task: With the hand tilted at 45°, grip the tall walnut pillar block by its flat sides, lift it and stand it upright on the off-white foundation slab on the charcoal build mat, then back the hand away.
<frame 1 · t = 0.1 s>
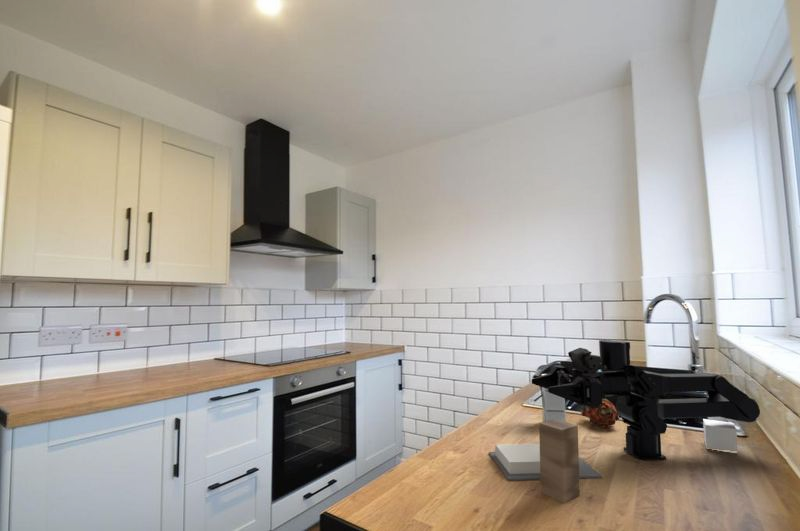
hand: (539, 385, 94), 17 cm above the counter, tool horizontal, fingers open, 9 cm apart
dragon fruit: (600, 425, 117), on the counter
build board: (541, 464, 89), on the counter
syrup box: (553, 426, 116), on the counter
white cube: (720, 449, 99), on the counter
walnut pillar block: (560, 493, 76), on the counter
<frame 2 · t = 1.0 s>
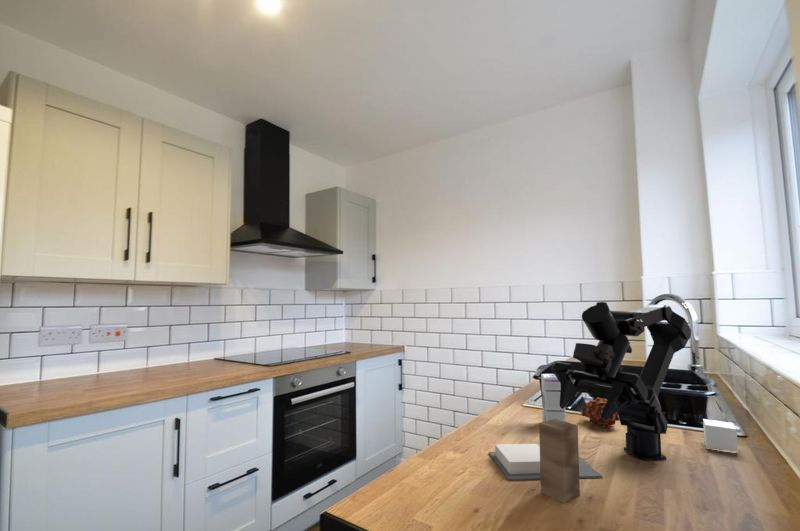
hand: (581, 412, 82), 14 cm above the counter, tool tilted 45°, fingers open, 9 cm apart
nothing on the counter moved.
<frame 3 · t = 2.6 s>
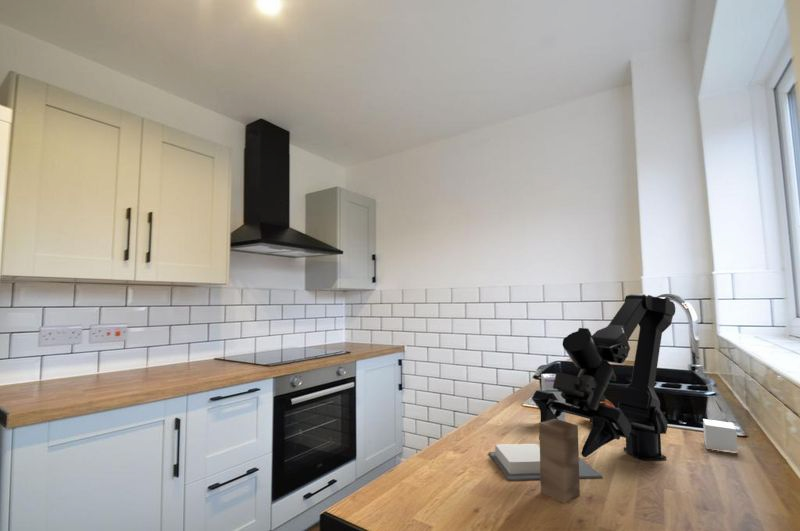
hand: (560, 448, 77), 8 cm above the counter, tool tilted 45°, fingers open, 9 cm apart
nothing on the counter moved.
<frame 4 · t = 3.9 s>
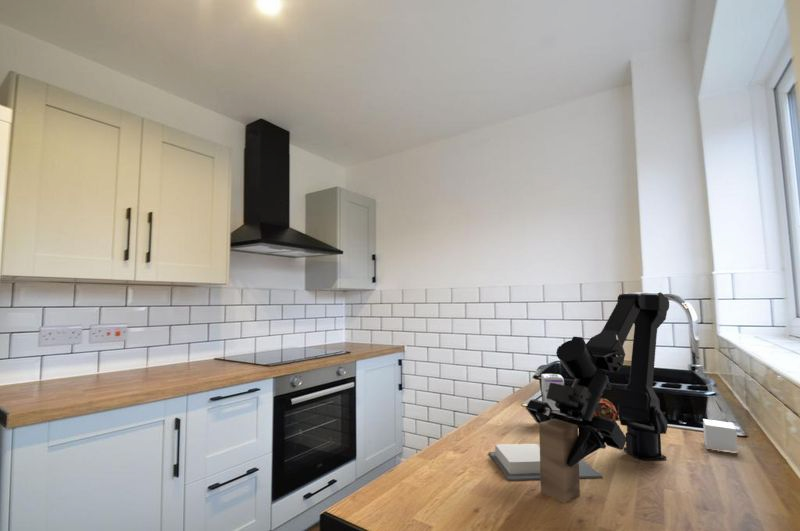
hand: (554, 459, 76), 7 cm above the counter, tool tilted 45°, fingers open, 6 cm apart
walnut pillar block: (560, 493, 76), on the counter, touching gripper
everything else where it was.
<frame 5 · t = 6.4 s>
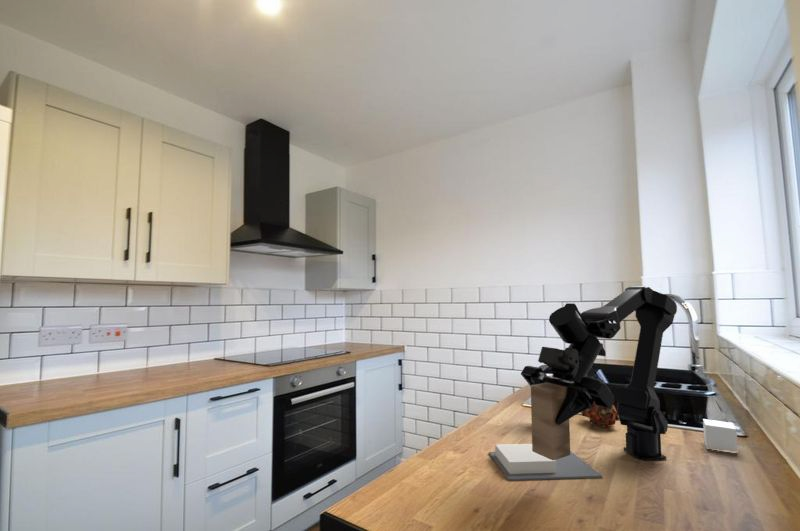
hand: (545, 419, 78), 13 cm above the counter, tool tilted 45°, fingers closed on walnut pillar block, 5 cm apart
walnut pillar block: (551, 453, 78), point 7 cm above the counter, touching gripper
everything else where it was.
when the fingers open (10 cm above the counter, at t = 8.7 s): walnut pillar block stays where it is, resting on build board.
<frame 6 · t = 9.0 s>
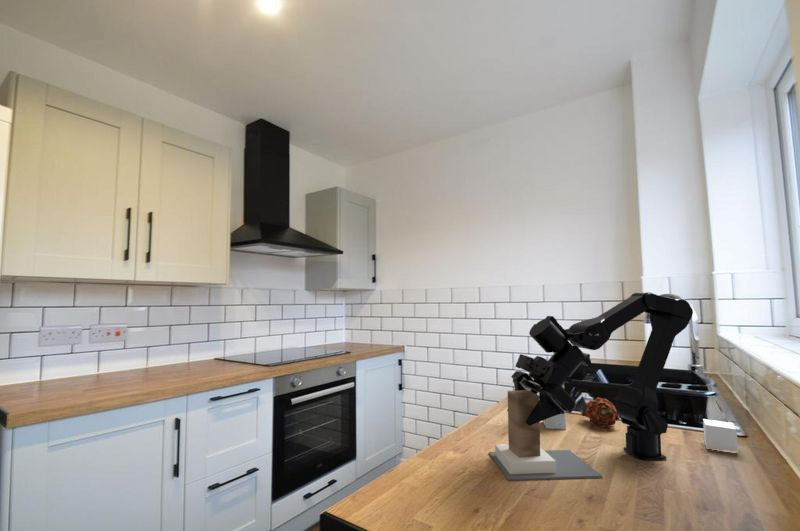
hand: (517, 418, 89), 10 cm above the counter, tool tilted 45°, fingers open, 8 cm apart
walnut pillar block: (524, 452, 89), point 3 cm above the counter, touching build board
everything else where it was.
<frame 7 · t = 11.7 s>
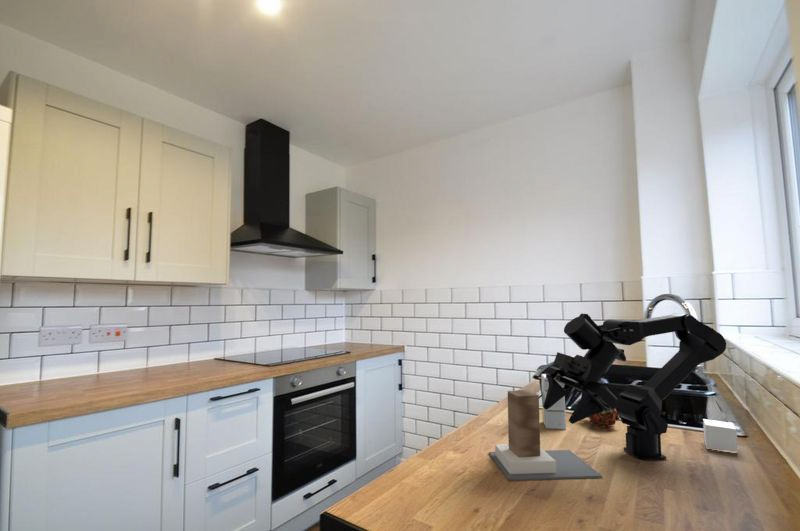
hand: (556, 415, 91), 11 cm above the counter, tool tilted 45°, fingers open, 9 cm apart
nothing on the counter moved.
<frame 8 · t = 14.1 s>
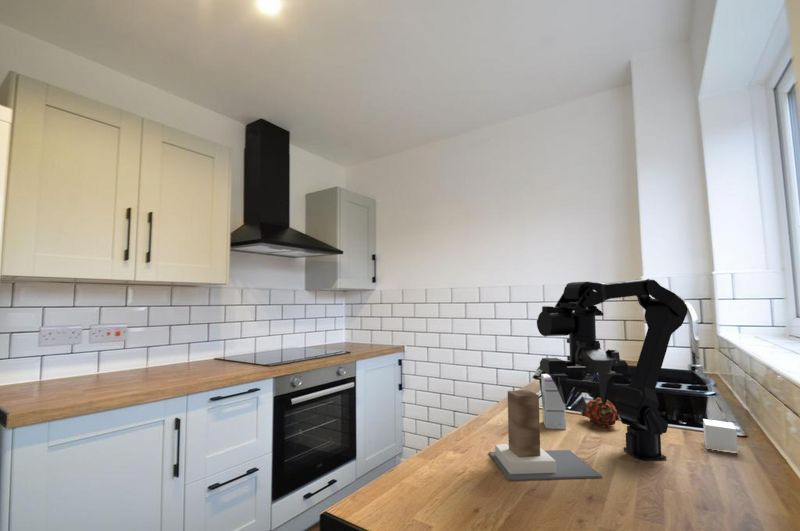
hand: (584, 403, 92), 13 cm above the counter, tool pointing down, fingers open, 9 cm apart
nothing on the counter moved.
at the end: walnut pillar block inside the target area (0.1 cm from its centre), point 2.8 cm above the counter; walnut pillar block tilted 0°; the gripper is holding nothing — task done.
